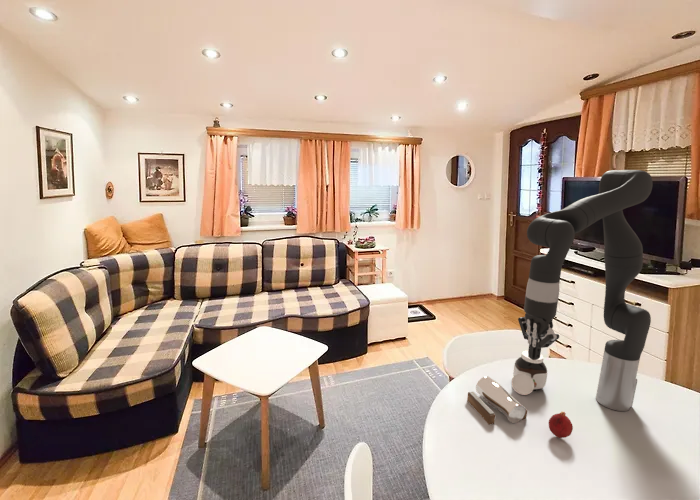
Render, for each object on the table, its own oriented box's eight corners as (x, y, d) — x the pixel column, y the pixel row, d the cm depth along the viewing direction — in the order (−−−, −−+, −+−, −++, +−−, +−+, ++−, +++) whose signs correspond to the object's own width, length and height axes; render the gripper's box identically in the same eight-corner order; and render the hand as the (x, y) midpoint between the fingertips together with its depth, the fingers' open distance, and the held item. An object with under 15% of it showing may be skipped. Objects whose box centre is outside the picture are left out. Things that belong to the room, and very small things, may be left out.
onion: (561, 447, 103) (565, 421, 101) (542, 434, 108) (546, 409, 106) (575, 440, 106) (579, 415, 104) (555, 428, 111) (559, 403, 109)
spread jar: (539, 381, 136) (544, 351, 133) (551, 400, 125) (556, 367, 122) (504, 377, 137) (508, 347, 135) (512, 395, 126) (517, 363, 124)
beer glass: (530, 407, 113) (496, 379, 127) (516, 400, 110) (482, 372, 124) (518, 427, 113) (485, 397, 127) (503, 421, 110) (471, 391, 124)
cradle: (501, 396, 126) (502, 387, 125) (526, 419, 114) (527, 409, 114) (467, 400, 123) (468, 391, 122) (488, 424, 111) (490, 414, 111)
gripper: (574, 304, 93) (564, 369, 96) (536, 287, 105) (528, 346, 109) (548, 306, 91) (539, 372, 95) (512, 289, 104) (505, 348, 107)
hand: (533, 358), depth 102 cm, fingers closed
